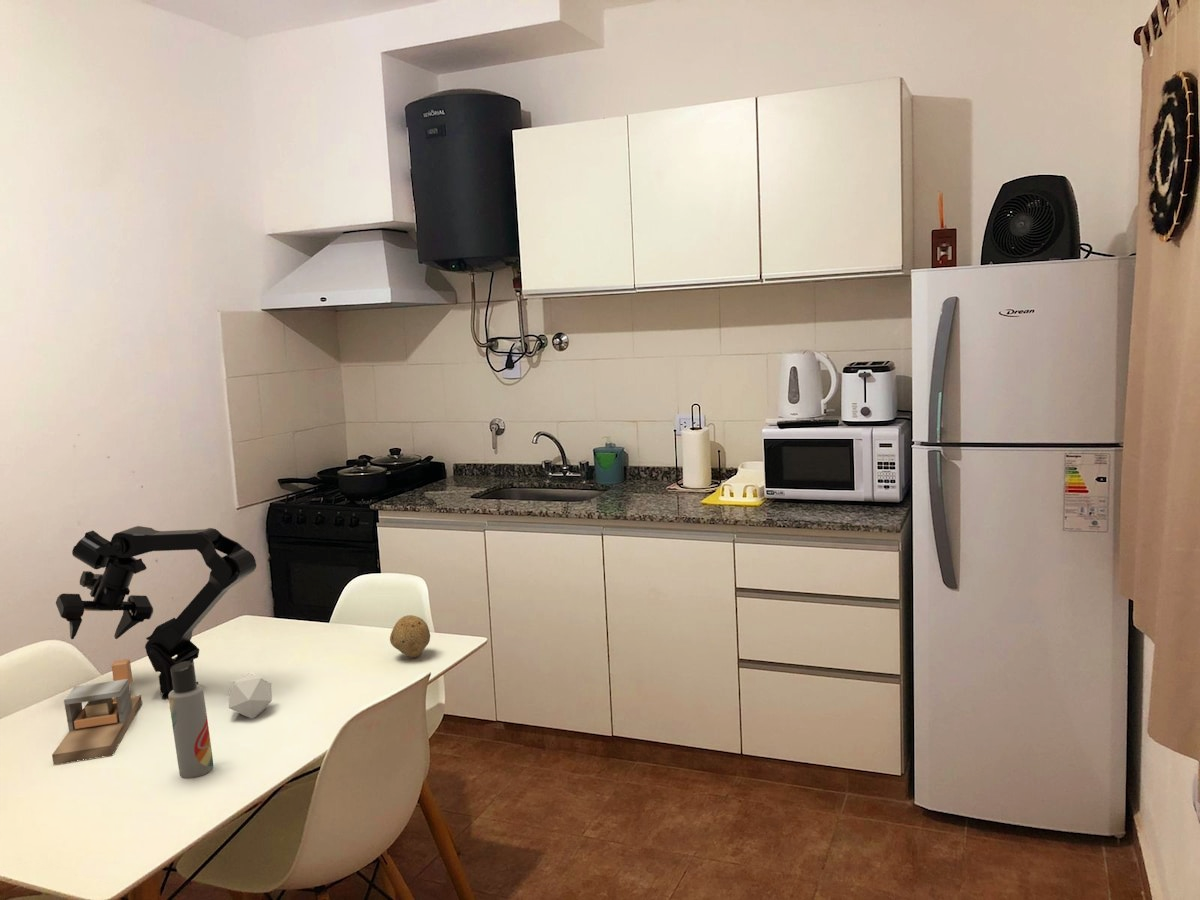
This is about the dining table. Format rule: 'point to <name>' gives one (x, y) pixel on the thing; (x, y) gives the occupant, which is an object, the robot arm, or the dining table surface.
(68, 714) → the tunnel
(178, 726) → the lotion bottle
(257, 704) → the die
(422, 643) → the brown round lump
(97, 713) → the birch block
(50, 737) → the dining table surface
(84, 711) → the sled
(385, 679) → the dining table surface
